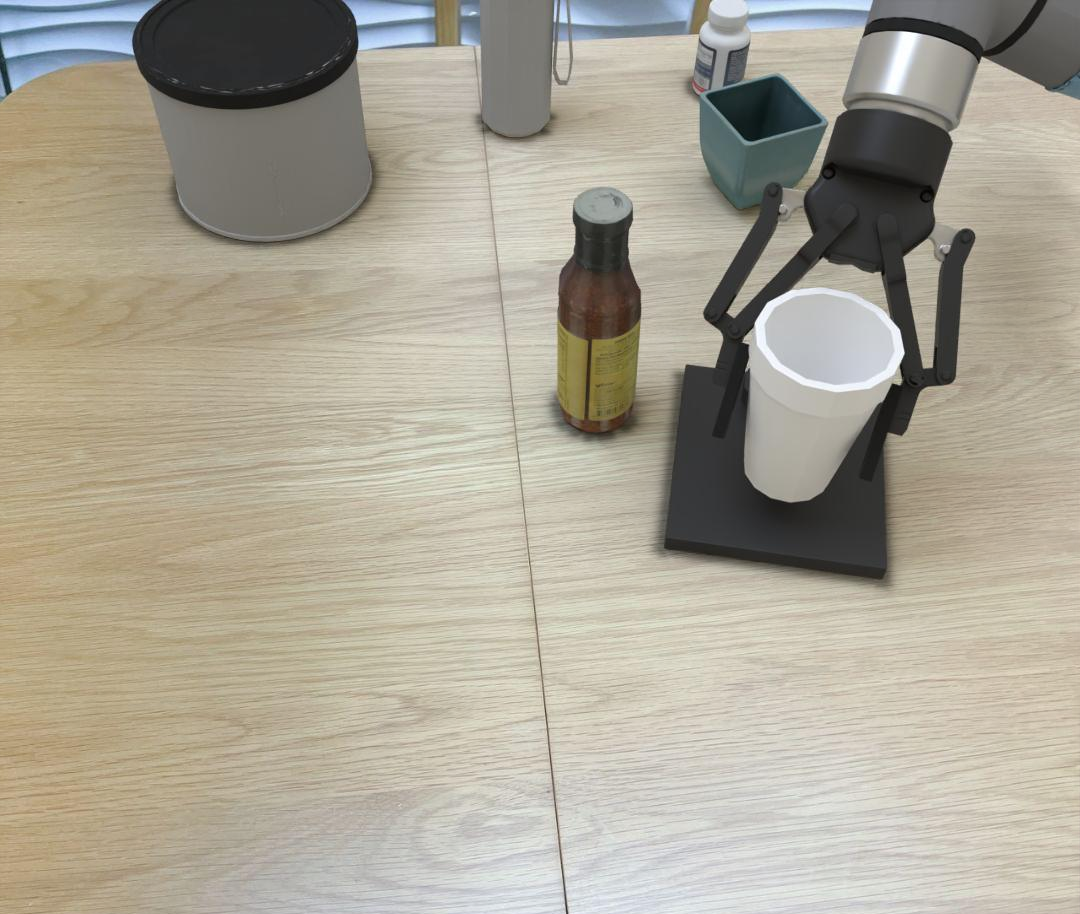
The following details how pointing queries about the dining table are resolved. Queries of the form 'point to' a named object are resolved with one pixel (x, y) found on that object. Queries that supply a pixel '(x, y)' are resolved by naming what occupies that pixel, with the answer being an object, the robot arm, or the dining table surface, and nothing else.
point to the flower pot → (758, 136)
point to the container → (258, 112)
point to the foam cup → (813, 386)
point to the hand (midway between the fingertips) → (790, 457)
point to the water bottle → (519, 63)
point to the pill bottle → (722, 46)
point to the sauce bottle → (598, 315)
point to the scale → (754, 518)
